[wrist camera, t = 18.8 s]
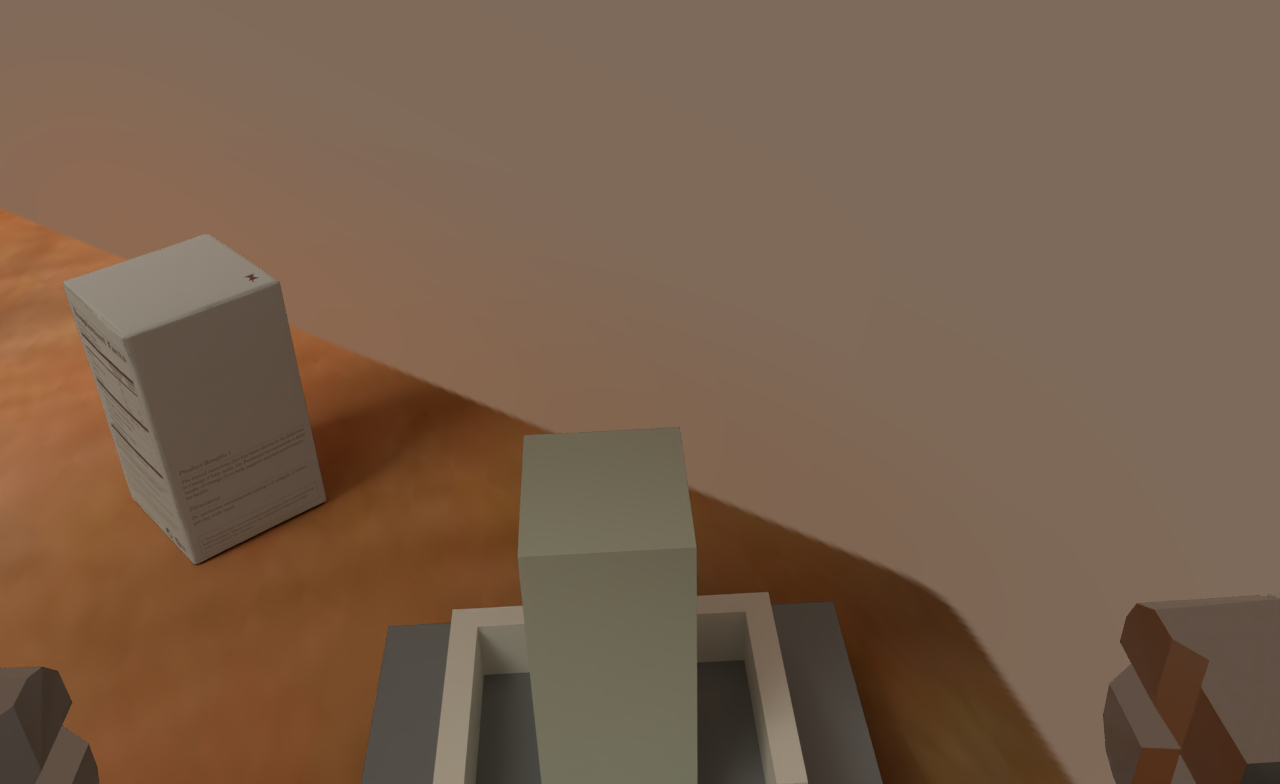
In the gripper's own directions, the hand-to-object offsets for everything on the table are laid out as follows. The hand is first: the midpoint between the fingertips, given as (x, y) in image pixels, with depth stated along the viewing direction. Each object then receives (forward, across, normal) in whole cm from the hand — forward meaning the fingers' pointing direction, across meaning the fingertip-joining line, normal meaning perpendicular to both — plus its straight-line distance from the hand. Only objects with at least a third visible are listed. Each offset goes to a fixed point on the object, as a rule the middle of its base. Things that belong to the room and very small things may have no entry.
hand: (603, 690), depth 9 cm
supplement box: (+43, +19, +30) cm, 56 cm away
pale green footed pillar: (+23, 0, +27) cm, 35 cm away
